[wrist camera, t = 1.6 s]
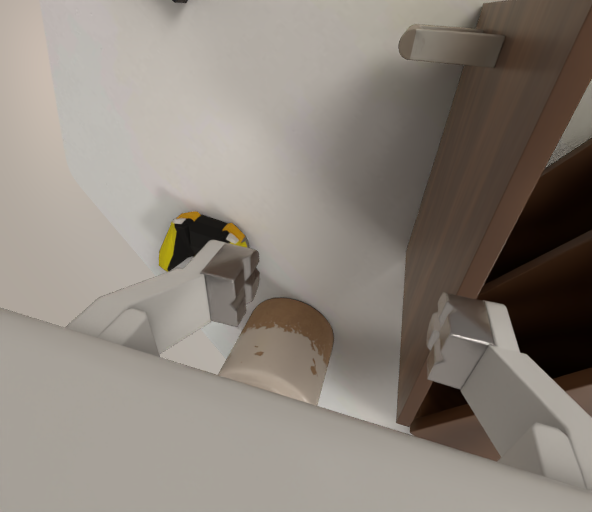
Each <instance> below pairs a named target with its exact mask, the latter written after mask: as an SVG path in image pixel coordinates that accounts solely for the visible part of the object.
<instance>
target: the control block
mask: <svg viewBox="0 0 592 512" xmlns="http://www.w3.org/2000/svg"><path fill="white" fill-rule="evenodd" d="M173 1H174V2H175V3H187V0H173Z"/></svg>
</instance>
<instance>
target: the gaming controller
mask: <svg viewBox="0 0 592 512" xmlns="http://www.w3.org/2000/svg"><path fill="white" fill-rule="evenodd" d="M210 240H217V241H221V242H225V243H230V244H234V245H238V246H242V247H246V248H250V247H249V243H248V240H247V238H246V236H245V235H244V234H243V233H242V232H241V231H240V230H239V229H238V228H237V227H236V226H235V225H234V224H233V223H229V224H228V223H225V222H222V221H219V220H216V219H213V218H210V217H207V216H204V215H200V214H199V213H198V212H188V213H183V214H181V215H179V216H178V217H177V218H176V219H173V221H172V222H171V225H170V228H169V230H168V233H167V235H166V237H165V239H164V242H163V244H162V246H161V249H160V251H159V266H160V267H161V268H163V269H164V270H165V271H167V272H168V271H170V270H172V269H173V268H175V267H176V266H177V265H179V264H180V263H181V262H183V261H184V260H185V259H186V258H188V257H191V256H194V257H195V256H196V254H197V253H198V252H199V251H200V250H201V249H202V248H203V247H204V246H205V245H206V244H207V243H208V242H209V241H210Z"/></svg>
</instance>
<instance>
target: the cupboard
mask: <svg viewBox="0 0 592 512" xmlns="http://www.w3.org/2000/svg"><path fill="white" fill-rule="evenodd" d="M476 299H477V300H481V301H483V300H484V301H489V302H494V303H499V304H504V305H505V306H506V308H507V311H508V314H509V318H510V321H511V324H512V327H513V331H514V334H515V337H516V341H517V344H518V347H519V350H520V353H524V354H527V355H528V356H529V357H530V358H531V359H532V360H533V361H534V362H535V363H536V364H537V365H538V366H539V367H540V368H541V369H542V370H543V371H544V372H545V373H546V374H547V375H548V376H549V377H550V378H552V379H553V380H554V381H555V382H556V383H557V384H558V385H559V386H560V387H561V388H562V389H563V390H564V391H565V392H566V393H567V394H568V395H569V396H570V397H571V398H572V399H573V400H574V401H575V402H576V403H577V404H578V405H579V406H580V407H581V408H582V409H583V410H584V411H585V412H586V413H587V414H588V415H590V416H591V417H592V138H591V139H590V140H588V141H587V142H585V143H584V144H582V145H580V146H579V147H577V148H576V149H574V150H573V151H571V152H570V153H568V154H567V155H565V156H564V157H562V158H561V159H559V160H558V161H556V162H555V163H553V164H552V165H550V166H549V167H547V168H546V169H544V171H543V172H542V174H541V176H540V178H539V180H538V182H537V184H536V186H535V188H534V190H533V192H532V193H531V195H530V197H529V199H528V201H527V203H526V205H525V207H524V209H523V211H522V213H521V214H520V216H519V218H518V220H517V222H516V224H515V226H514V228H513V230H512V232H511V234H510V235H509V237H508V239H507V241H506V243H505V245H504V247H503V249H502V251H501V253H500V255H499V256H498V258H497V260H496V262H495V264H494V266H493V268H492V270H491V272H490V274H489V276H488V277H487V279H486V281H485V283H484V285H483V287H482V289H481V291H480V293H479V295H478V297H477V298H476ZM410 433H411V434H413V435H414V436H416V437H419V438H422V439H425V440H428V441H432V442H435V443H438V444H441V445H445V446H448V447H451V448H454V449H458V450H461V451H464V452H467V453H470V454H474V455H477V456H480V457H483V458H487V459H490V460H493V461H496V462H497V461H498V460H499V459H500V458H501V456H500V454H499V453H498V451H497V450H496V448H495V446H494V445H493V443H492V441H491V440H490V438H489V437H488V435H487V433H486V432H485V430H484V428H483V427H482V425H481V424H480V422H479V420H478V419H477V417H476V415H475V414H474V412H473V411H472V409H471V407H470V406H469V404H468V402H467V401H466V399H465V398H464V396H463V394H462V393H461V389H457V388H454V387H451V386H447V385H444V384H441V383H437V382H434V381H433V383H432V384H431V386H430V388H429V390H428V392H427V394H426V396H425V398H424V400H423V402H422V404H421V405H420V407H419V409H418V411H417V413H416V415H415V417H414V419H413V421H412V423H411V425H410Z"/></svg>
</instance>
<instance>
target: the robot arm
mask: <svg viewBox="0 0 592 512" xmlns="http://www.w3.org/2000/svg"><path fill="white" fill-rule="evenodd" d="M258 263H259V252H258V251H257V250H254V249H250V248H246V247H242V246H238V245H234V244H230V243H225V242H221V241H217V240H210V241H209V242H208V243H207V244H206V245H205V246H204V247H203V248H202V249H201V250H200V251H199V252H198V253H197V254H196V256H195V257H194V258H193V259H192V260H191V261H190V262H189V263H188V264H187V265H186V266H185V267H184V268H183V269H180V268H177V269H175V270H172V271H169V272H166V273H164V274H161V275H158V276H156V277H153V278H150V279H148V280H145V281H142V282H139V283H136V284H134V285H131V286H128V287H126V288H123V289H120V290H117V291H115V292H112V293H109V294H107V295H104V296H101V297H99V298H98V299H97V300H95V301H94V302H93V303H92V304H91V305H90V306H89V307H87V308H86V309H85V310H84V311H83V312H82V313H81V314H80V315H79V316H77V317H76V318H75V319H74V320H73V321H72V322H71V323H69V324H68V325H67V326H66V327H61V326H58V325H55V324H52V323H48V322H45V321H42V320H39V319H36V318H32V317H29V316H26V315H22V314H19V313H16V312H13V311H10V310H7V309H3V308H0V512H592V417H591V416H590V415H588V414H587V413H586V412H585V411H584V410H583V409H582V408H581V407H580V406H579V405H578V404H577V403H576V402H575V401H574V400H573V399H572V398H571V397H570V396H569V395H568V394H567V393H566V392H565V391H564V390H563V389H562V388H561V387H560V386H559V385H558V384H557V383H556V382H555V381H554V380H553V379H552V378H550V377H549V376H548V375H547V374H546V373H545V372H544V371H543V370H542V369H541V368H540V367H539V366H538V365H537V364H536V363H535V362H534V361H533V360H532V359H531V358H530V357H529V356H528V355H527V354H524V353H520V350H519V347H518V344H517V341H516V337H515V334H514V331H513V327H512V324H511V321H510V318H509V314H508V311H507V308H506V306H505V305H504V304H499V303H494V302H489V301H484V300H483V301H481V300H477V299H473V298H468V297H463V296H459V295H454V294H450V293H445V292H443V293H442V295H441V296H440V298H439V301H438V311H437V312H436V313H434V314H433V315H432V317H431V320H430V322H429V326H428V331H427V347H428V349H429V350H430V353H429V356H428V358H427V379H428V380H431V381H434V382H437V383H441V384H444V385H447V386H451V387H454V388H457V389H461V393H462V394H463V396H464V398H465V399H466V401H467V402H468V404H469V406H470V407H471V409H472V411H473V412H474V414H475V415H476V417H477V419H478V420H479V422H480V424H481V425H482V427H483V428H484V430H485V432H486V433H487V435H488V437H489V438H490V440H491V441H492V443H493V445H494V446H495V448H496V450H497V451H498V453H499V454H500V456H501V458H500V459H499V460H498V461H497V462H496V461H493V460H490V459H487V458H483V457H480V456H477V455H474V454H470V453H467V452H464V451H461V450H458V449H454V448H451V447H448V446H445V445H441V444H438V443H435V442H432V441H428V440H425V439H422V438H419V437H416V436H412V435H409V434H406V433H403V432H399V431H396V430H393V429H390V428H386V427H383V426H380V425H377V424H374V423H370V422H367V421H364V420H361V419H357V418H354V417H351V416H348V415H344V414H341V413H338V412H335V411H332V410H328V409H325V408H322V407H319V406H316V405H312V404H309V403H306V402H303V401H300V400H296V399H293V398H290V397H287V396H283V395H280V394H277V393H274V392H271V391H267V390H264V389H261V388H258V387H255V386H251V385H248V384H245V383H242V382H238V381H235V380H232V379H229V378H226V377H222V376H219V375H216V374H213V373H209V372H206V371H203V370H200V369H196V368H193V367H190V366H187V365H184V364H181V363H177V362H174V361H171V360H168V359H164V358H161V357H160V355H159V354H161V353H162V352H164V351H166V350H167V349H169V348H170V347H172V346H174V345H175V344H177V343H178V342H180V341H182V340H183V339H185V338H186V337H188V336H189V335H191V334H193V333H194V332H196V331H197V330H199V329H201V328H202V327H204V326H205V325H207V324H209V323H210V322H211V321H215V322H219V323H223V324H227V325H231V326H235V327H237V326H238V325H239V323H240V321H241V320H242V318H243V316H244V315H245V313H246V304H248V303H250V302H252V301H253V299H254V297H255V295H256V293H257V290H258V286H259V280H260V273H259V271H258V270H257V268H256V266H257V265H258Z"/></svg>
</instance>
